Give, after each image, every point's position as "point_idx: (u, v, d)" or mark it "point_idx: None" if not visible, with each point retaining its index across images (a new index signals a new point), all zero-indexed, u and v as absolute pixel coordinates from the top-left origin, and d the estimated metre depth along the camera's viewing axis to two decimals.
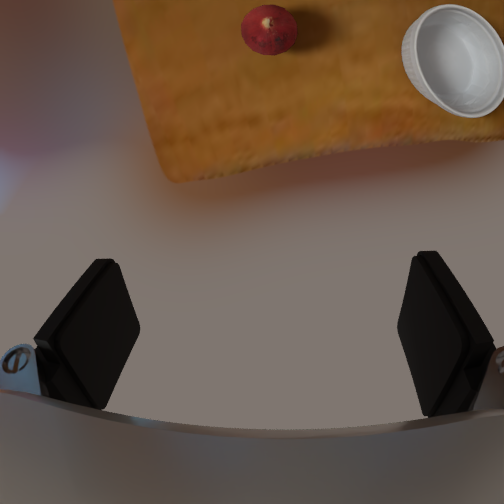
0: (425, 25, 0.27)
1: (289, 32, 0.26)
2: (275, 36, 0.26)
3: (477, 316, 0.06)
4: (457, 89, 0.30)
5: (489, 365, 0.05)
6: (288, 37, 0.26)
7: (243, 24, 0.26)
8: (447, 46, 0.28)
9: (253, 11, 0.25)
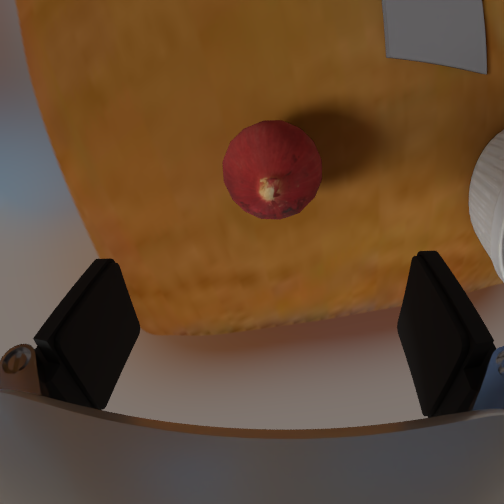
0: None
1: (309, 192, 0.17)
2: (282, 208, 0.17)
3: (477, 316, 0.06)
4: None
5: (489, 365, 0.05)
6: (306, 200, 0.18)
7: (225, 169, 0.17)
8: None
9: (243, 146, 0.16)
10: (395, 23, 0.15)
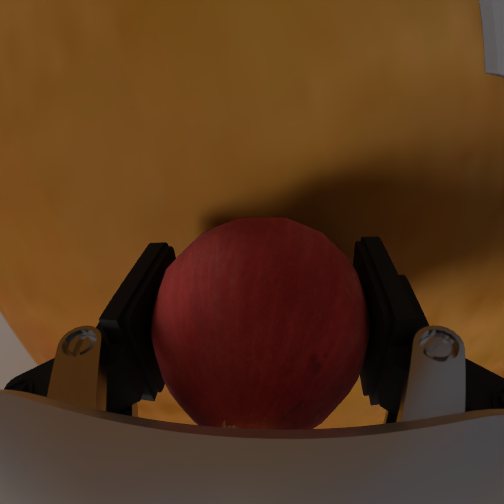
0: None
1: None
2: None
3: (405, 295, 0.07)
4: None
5: (411, 342, 0.06)
6: None
7: None
8: None
9: (182, 316, 0.06)
10: None
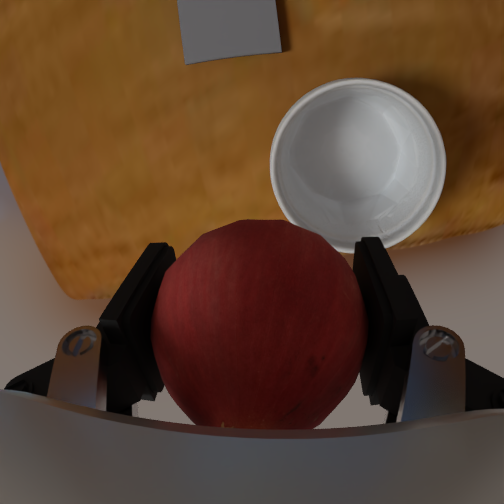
0: (318, 105, 0.24)
1: None
2: None
3: (405, 295, 0.07)
4: (370, 190, 0.28)
5: (411, 342, 0.06)
6: None
7: (153, 349, 0.07)
8: (356, 130, 0.25)
9: (181, 319, 0.06)
10: (188, 36, 0.22)
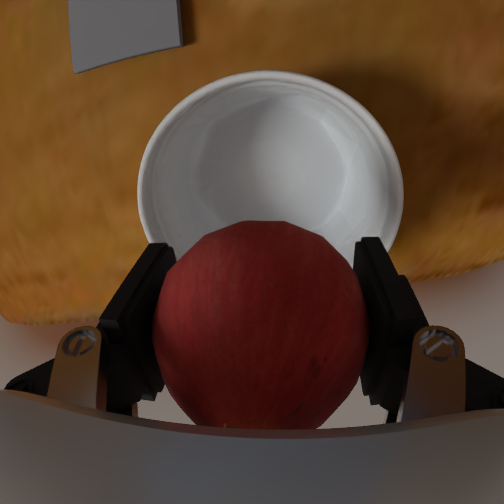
0: (227, 113, 0.18)
1: None
2: None
3: (405, 295, 0.07)
4: (305, 224, 0.22)
5: (411, 342, 0.06)
6: None
7: None
8: (281, 144, 0.19)
9: (183, 320, 0.06)
10: (76, 39, 0.16)
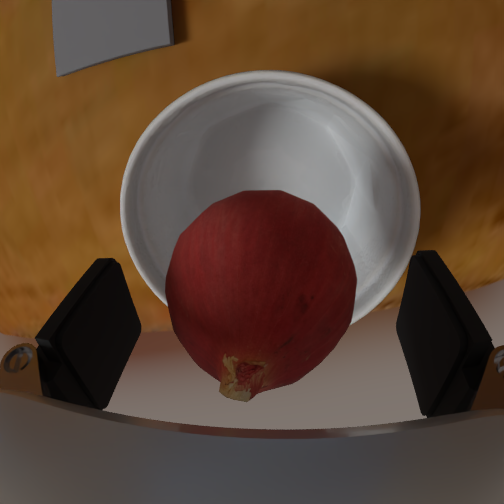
0: (223, 118, 0.16)
1: (328, 352, 0.08)
2: (274, 388, 0.08)
3: (475, 315, 0.06)
4: None
5: (487, 364, 0.05)
6: None
7: (167, 300, 0.09)
8: (283, 154, 0.17)
9: (192, 266, 0.08)
10: (60, 40, 0.14)
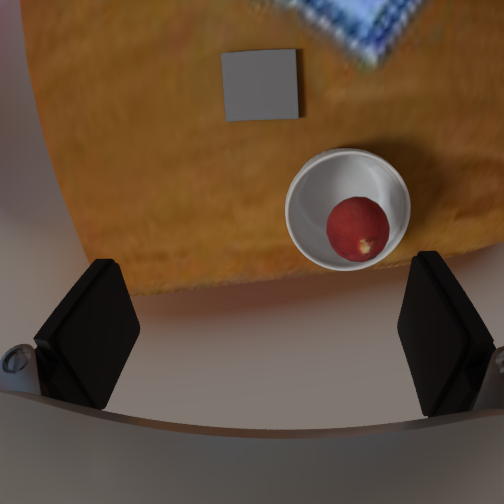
0: (322, 161, 0.35)
1: (383, 247, 0.26)
2: (369, 257, 0.26)
3: (477, 316, 0.06)
4: None
5: (489, 365, 0.05)
6: (380, 251, 0.27)
7: (333, 230, 0.27)
8: (348, 180, 0.36)
9: (347, 216, 0.26)
10: (229, 99, 0.33)
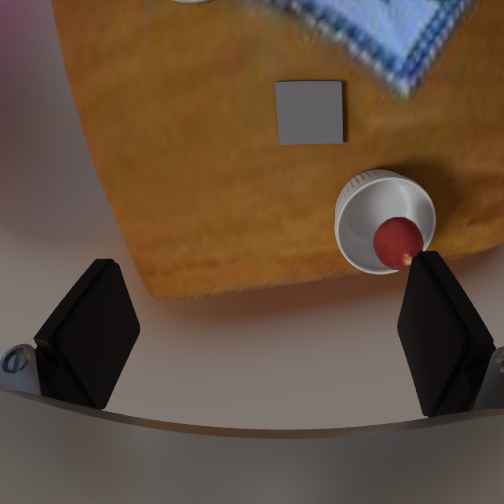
0: None
1: None
2: (409, 266, 0.31)
3: (477, 316, 0.06)
4: None
5: (489, 365, 0.05)
6: None
7: (381, 245, 0.32)
8: (382, 196, 0.41)
9: (393, 235, 0.31)
10: (282, 125, 0.38)
